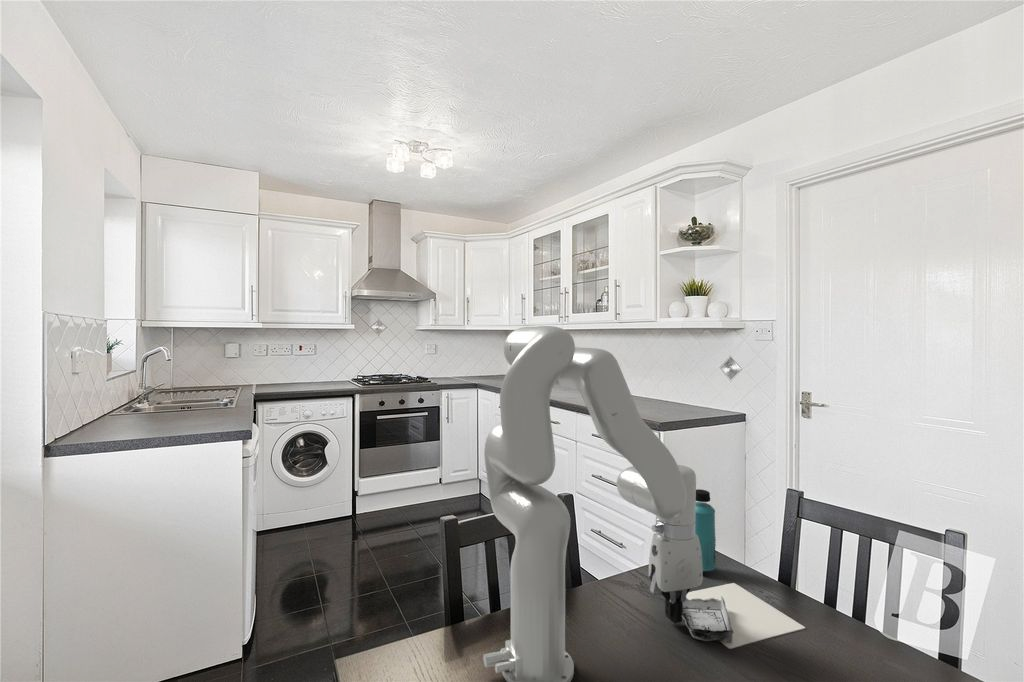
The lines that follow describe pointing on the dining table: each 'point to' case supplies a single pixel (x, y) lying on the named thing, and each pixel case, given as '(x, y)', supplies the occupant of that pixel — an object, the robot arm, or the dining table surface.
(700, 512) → the beverage bottle
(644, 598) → the dining table surface
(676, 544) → the robot arm
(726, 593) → the mat
